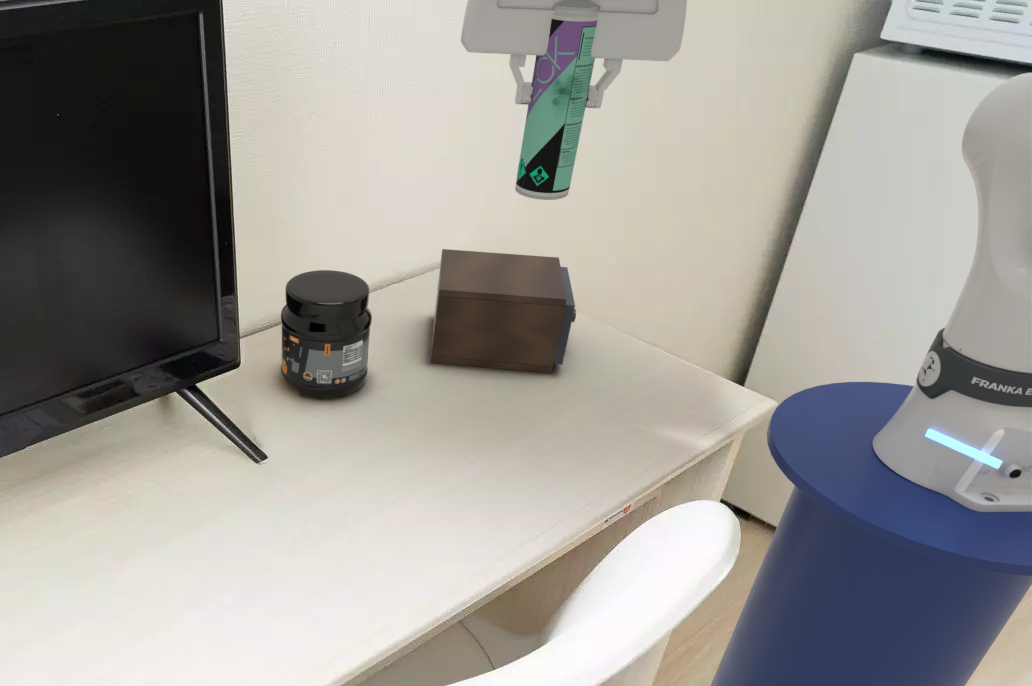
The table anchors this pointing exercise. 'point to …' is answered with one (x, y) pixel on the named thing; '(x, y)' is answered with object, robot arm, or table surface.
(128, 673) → the table surface
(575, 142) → the spray can
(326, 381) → the supplement container
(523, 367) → the cabinet
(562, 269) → the drawer
